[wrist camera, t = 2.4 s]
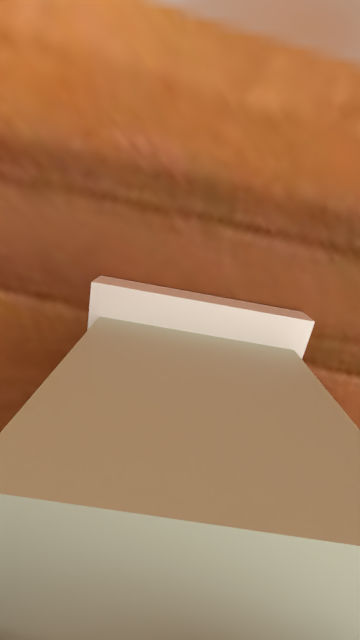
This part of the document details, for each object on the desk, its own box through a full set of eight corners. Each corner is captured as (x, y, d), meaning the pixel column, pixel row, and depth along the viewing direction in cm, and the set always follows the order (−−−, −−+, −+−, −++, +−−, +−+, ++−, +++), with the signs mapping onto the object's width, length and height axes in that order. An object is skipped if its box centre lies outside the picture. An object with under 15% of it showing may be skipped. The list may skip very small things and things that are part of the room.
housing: (84, 470, 16) (-25, 746, 8) (99, 316, 13) (-47, 487, 5) (245, 495, 17) (308, 782, 8) (294, 350, 14) (468, 561, 5)
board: (70, 594, 22) (16, 773, 15) (100, 275, 14) (18, 332, 7) (203, 612, 23) (212, 793, 15) (302, 311, 15) (410, 398, 8)
